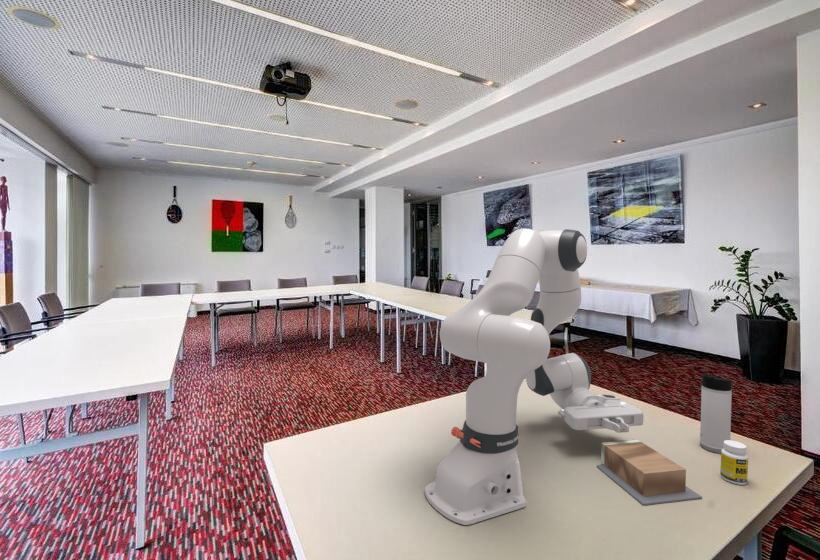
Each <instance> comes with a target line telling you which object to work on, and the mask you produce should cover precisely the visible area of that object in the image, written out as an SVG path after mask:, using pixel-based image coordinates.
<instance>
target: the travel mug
mask: <svg viewBox="0 0 820 560" xmlns="http://www.w3.org/2000/svg"><path fill="white" fill-rule="evenodd" d="M732 383H733V381H732V379H730V378H723V377H721V376H719V375H713V374H705V373H703V374H702V375H701V395H700V396H701V397H700V398H701V401H700V433H699V436H700V437H699V438H700V439H699V446H700V447H701V448H703V449H704V450H706V451H708V452H712V453H714V454H715V453H716V454H720V455H721V450H722V449H723V448H724V446H723V445H724V441H725V440H731V432H732V431H731V429H732V428H731V427H732V426H731V425H732V398H733V397H732V391H733V389H732V386H733V384H732Z"/></svg>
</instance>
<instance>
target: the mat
mask: <svg viewBox="0 0 820 560" xmlns="http://www.w3.org/2000/svg"><path fill="white" fill-rule="evenodd" d="M596 468H597V469H598V470H600V471H601V472H602V473H603V474H605V475H606V476H607V477H608V478H610V479H611V481H613V482H614V483H615V484H616V485H618V486H619V487H620V488H621V489H623V491H625V492H626V493H628V494H629V495H630V496H631V497H632V498H633V499H634V500H636V501H637V502H638V503H639V504H640V505H642V506H643V507H644V506H651V505H662V504H669V503H670V504H671V503H676V502H685V501H694V500H702V499H703V496H701V495H700V494H699V493H697V492H695V491H694V490H693V489H691V487H690V488H689V487H688V486H687V485H686V489H685V492H680V493H672V494H663V495H654V496H646V497H644V496H643V495H642V494H640V493H639V492H638V491H637V490H635V489H634V488H633V487H632V486H630V485H629V484H628V483H627V482H625V481H624V480H623V479H621V478H620V477H619V476H618V475H616V474H615V473H614V472H613V471H611V470H610V469H609V468H608V467H606V466H605V465H604V464H597V465H596Z"/></svg>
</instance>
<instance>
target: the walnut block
mask: <svg viewBox="0 0 820 560" xmlns="http://www.w3.org/2000/svg"><path fill="white" fill-rule="evenodd" d="M600 445H601V446H600V447H601V453H600V456H601V457H600V462H601V464H602V465H605V466H606V467H608V468H609V469H610V470H611V471H613V472H614V473H615V474H616V475H618V476H619V477H620V478H621V479H623V480H624V481H625V482H627V483H628V484H629V485H630V486H632V487H633V488H634V489H635V490H637V491H638V492H639V493H640V494H642V495H643V496H644V497H646V496H654V495H663V494H672V493H680V492H685V489H686V486H687V485H686V483H687V482H686V479H687V478H686V477H687V469H686V468H685V467H683V466H681V465H679V464H678V463H676V462H675V461H673V460H671V459H670V458H668V457H667V456H665V455H663V454H662V453H660V452H659V451H656V450H655V448H652V447H650V446H649V445H648V444H645V443H644V442H642V441H640V440H639V439H629V440H628V439H627V440H619V441H617V440H616V441H607V442H606V441H605V442H601V444H600Z"/></svg>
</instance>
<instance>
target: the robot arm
mask: <svg viewBox="0 0 820 560" xmlns="http://www.w3.org/2000/svg"><path fill="white" fill-rule="evenodd" d="M587 255H588V245H587V240H586V237H585V236H584V234H583V233H581V232H580V231H579V230H577V229H576V230H575V229H570V228H569V229H563V230H561V229H560V230H559V229H558V230H557V229H554V230H553V229H548V230H543V229H541V230H540V229H539V230H534V229H532V228H525V227H524V228H518V229H517V230H514V231H513V232H511V233H510V235H509V236H508V237H507V239H506V240H505V241H504V243H503V245H502V247H501V248H500V251H499V252H498V254H497V257H496V259H495V261H494V264H493V266H492V269H491V271H490V272H489V276H488V278H486V279H487V280H486V282H485V283H484V285H483V286H482V288H481V289H480V290H479V292H478V293H477V294H476V295H475V296H474V297H473V298H472V299H471V300H470V301H469V302H467V304H465V306H463V307H461V308H460V309H459V310H457V311H454V312H452V313H450V314H449V315H447V316H446V317H445V318H444V319H443V321H442V323H441V325H440V329H439V337H440V338H439V340H440V343H441V346H442V348H443V349H444V350H445V351H446V352H448V353H450V354H452V355H454V356H456V357H459V358H461V359H465V360H470V361H475V362H480V363H484V364H486V372H485V375H484V376H482V377H480V378H477V379H475V380H474V381H472V382H471V383H470V385H468V386H467V388H466V392H465V420H464V423H463V426H462V429H460V428H458V427H457V426H453V427H452V428H451V430H450V434H451V435H452V436H453V437H455V438H456V439H459V441H458V442H457V443H456V444H455V446H454V447H453V448H451V450H450V451H449V453H447V455H446V456H445V457H444V458H443V459H442V460H441V461H440V463H438V465H437V468H436V472H435V473H436V474H435V479H434V480H433V481H432V482H430V483H429V484H428V483H427V485H425V487H424V496H425V498H426V500H427V502H428V503H429V504H430V505H431V506H432V507H433V508H434V509H435V510H436V511H437V512H438V513H440V514H441V515H442V516H444V517H445V518H447V519H449V520H450V521H453V522H454V523H457V524H459V525H460V524H461V525H463V526H470V525H472V524H476V523H479V522H482V521H485V520H488V519H491V518H495V517H498V516H501V515H504V514H507V513H510V512H514V511H517V510H521V509H524V508H525V507H526V506H527V502H526V498H525V496H524V491H525V490H524V485H523V481H522V474H521V473H522V471H521V465H520V459H519V455H518V449H517V448H518V447H517V446H518V444H519V426H518V424H517V407H518V405H517V404H518V394H519V391H520V389H521V386H522V384H523V382H524V381H525V382H526V384H527V387H528V388H529V389H530V390H531V392H533V393H535V394H537V395H539V396H543V397H546V396H548V395H549V396H550V398H551V399H552V400H553V402H554V403H555V404H556V405H557V406H559V408H561V409H560V410H558V412H557V414H558V415H559V416H560V417H562V418H564V419H563V420H564V422H565V423H566V424H567V425H568V426H569V427H570V428H571V429H572V430H575V431H587V430H601V429H607V430H610V431H614V432H615V433H617V434H620V433H621V434H622V433H629V431H630V427H638V426H639V427H641V426H643V425H644V420H645V419H644V416H645V415H644V413H643V411H642V410H641V409H640V408H638V407H636V406H634V405H632V404H630V403H629V402H627V401H623V400H620V397H619V396H616V395H611V394H601V393H598V392H592V391H590V390H589V389H590V387H591V382H592V381H591V380H592V372H591V368H590V366H589V363H587V361H586V360H585V359H584V358H583V357H582V356H580V355H579V354H577V353H575V352H571V353H570V352H569V353H566V354H565V353H564V354H561V355H557V356H555V357H550V358H548V357H549V355H550V352H551V339H550V334H551V332H552V331H553V330H554V329H555V328H556V327H558V326H559V325H561V323H563V322H564V321H566V320H568V319H570V318H571V317H572V316H573V315H575V314H576V312H577V311H578V309H580V307H581V303H582V288H581V280H580V279H581V278H580V273H579V269H580V268H581V267H582V266H583V265H584V263H585V262H586V260H587ZM538 281H539V299H538V304H537V305H536V308H535V309H534V310H532V312H531V314H530V315H531V316H530V319H528V318H525V317H521V316H515V315H513V314H515V313H516V312H519V311H521V310H523V309H525V308H526V307H528V305H529V304H530V303H531V301H532V299H533V297H534V295H535V291H536V287H537V284H538Z"/></svg>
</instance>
